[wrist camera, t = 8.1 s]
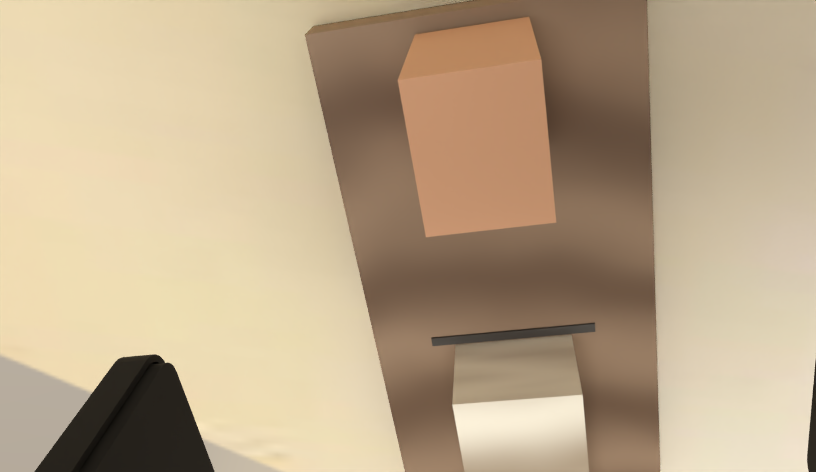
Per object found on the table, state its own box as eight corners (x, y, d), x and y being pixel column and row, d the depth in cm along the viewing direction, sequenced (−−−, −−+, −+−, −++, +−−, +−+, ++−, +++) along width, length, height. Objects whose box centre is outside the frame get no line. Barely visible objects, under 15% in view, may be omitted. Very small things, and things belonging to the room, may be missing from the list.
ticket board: (654, 467, 37) (680, 562, 32) (415, 482, 39) (405, 573, 34) (638, -26, 26) (672, 1, 22) (313, 26, 28) (278, 62, 23)
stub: (542, 152, 28) (556, 222, 22) (436, 165, 28) (425, 237, 23) (529, 16, 26) (541, 58, 20) (415, 34, 26) (397, 80, 21)
